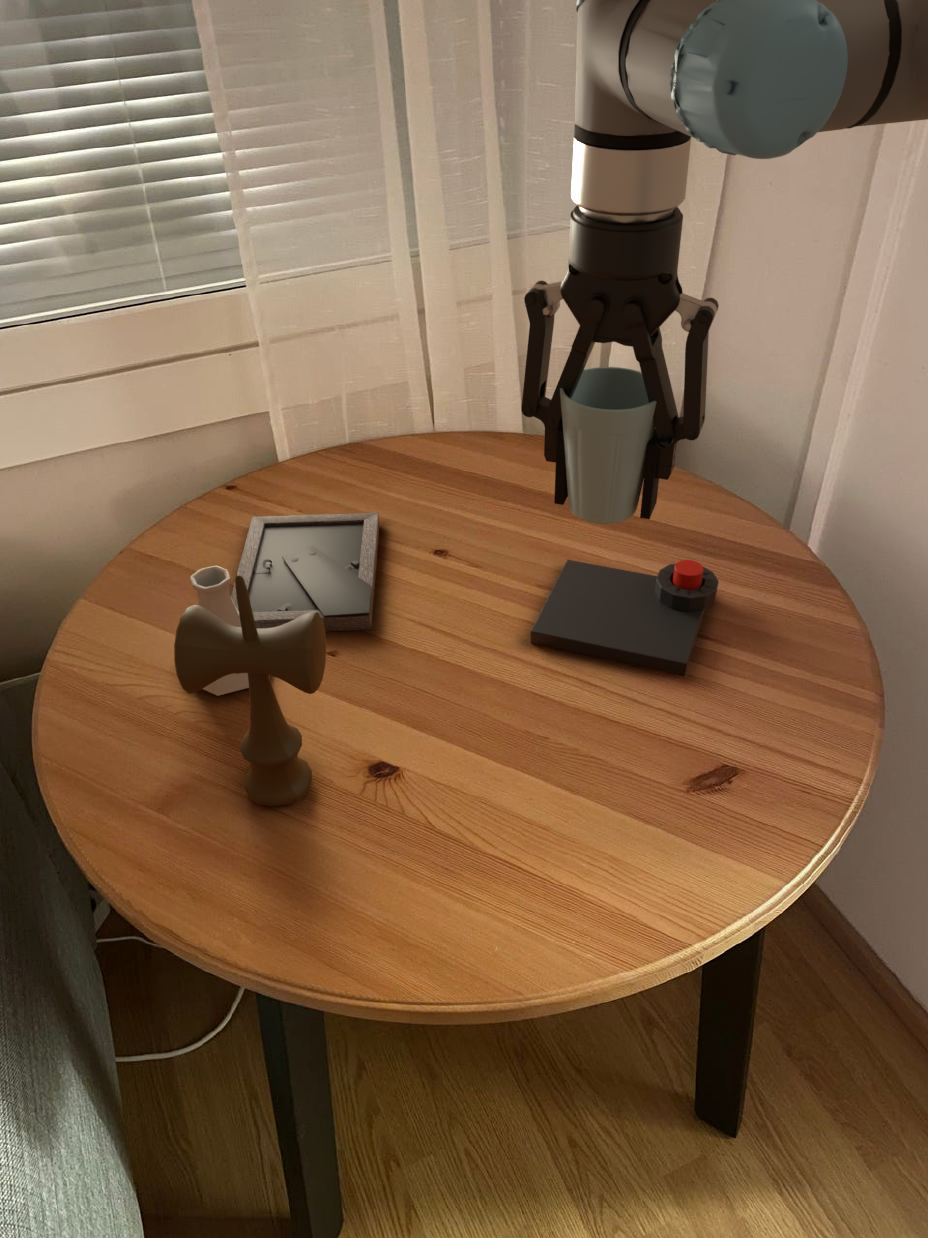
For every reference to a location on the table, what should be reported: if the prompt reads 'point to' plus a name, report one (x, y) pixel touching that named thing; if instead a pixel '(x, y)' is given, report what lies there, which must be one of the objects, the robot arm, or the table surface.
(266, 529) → the picture frame
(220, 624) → the kendama
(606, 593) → the scale
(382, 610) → the table surface
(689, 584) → the button
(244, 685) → the flask
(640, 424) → the cup
